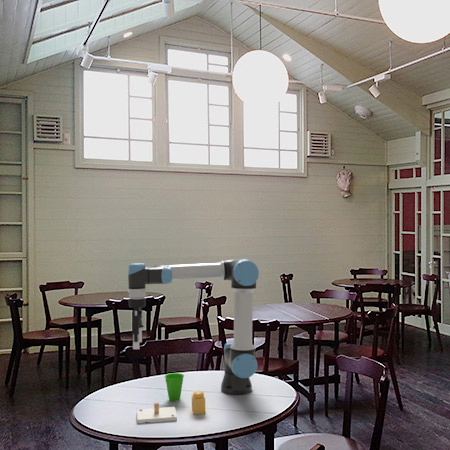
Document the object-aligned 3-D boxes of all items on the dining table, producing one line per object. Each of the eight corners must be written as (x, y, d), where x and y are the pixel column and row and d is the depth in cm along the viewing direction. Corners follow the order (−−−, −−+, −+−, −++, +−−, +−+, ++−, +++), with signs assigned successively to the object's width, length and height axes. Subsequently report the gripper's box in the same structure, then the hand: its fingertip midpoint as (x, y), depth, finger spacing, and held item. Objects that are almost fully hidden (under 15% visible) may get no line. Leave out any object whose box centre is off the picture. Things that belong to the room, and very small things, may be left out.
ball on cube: (203, 409, 214) (203, 390, 214) (205, 413, 209) (205, 394, 209) (191, 410, 213) (191, 391, 213) (193, 414, 208) (193, 395, 208)
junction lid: (174, 410, 213) (174, 397, 213) (176, 420, 201) (176, 407, 201) (137, 412, 210) (137, 400, 210) (137, 423, 198) (137, 409, 199)
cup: (181, 403, 222) (180, 379, 222) (162, 402, 224) (161, 378, 224) (186, 396, 231) (186, 373, 231) (168, 395, 232) (168, 372, 233)
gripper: (131, 294, 231) (131, 339, 231) (125, 301, 206) (126, 352, 206) (147, 294, 232) (147, 339, 232) (143, 301, 207) (144, 351, 207)
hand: (137, 345), depth 219 cm, fingers open, 13 cm apart
